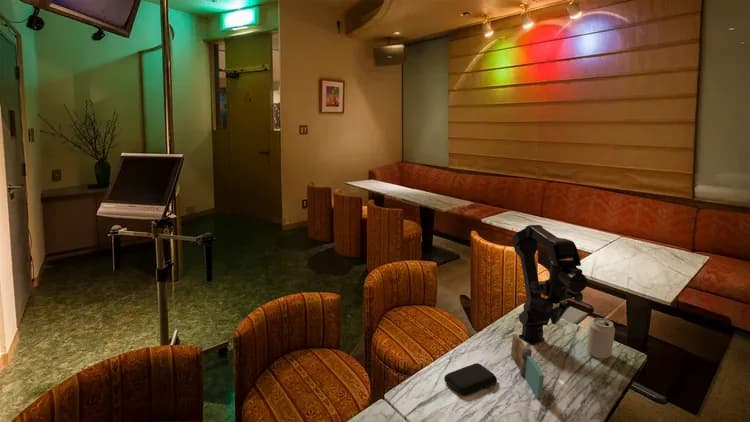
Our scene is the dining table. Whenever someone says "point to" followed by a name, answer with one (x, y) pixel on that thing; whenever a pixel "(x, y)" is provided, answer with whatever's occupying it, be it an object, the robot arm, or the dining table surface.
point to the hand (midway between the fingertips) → (553, 323)
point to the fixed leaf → (519, 352)
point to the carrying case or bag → (470, 379)
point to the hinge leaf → (533, 376)
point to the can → (600, 338)
